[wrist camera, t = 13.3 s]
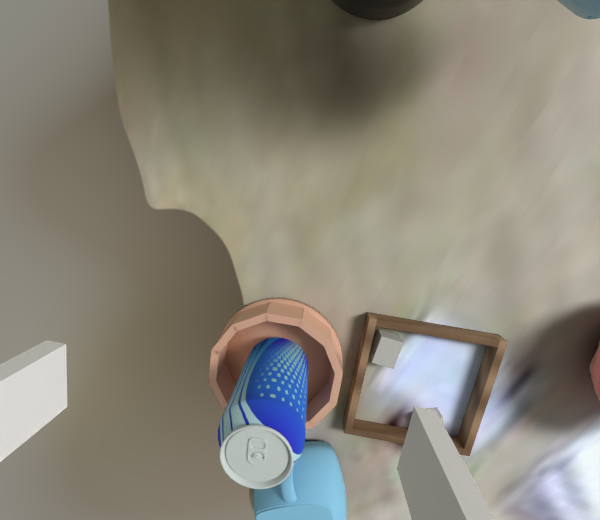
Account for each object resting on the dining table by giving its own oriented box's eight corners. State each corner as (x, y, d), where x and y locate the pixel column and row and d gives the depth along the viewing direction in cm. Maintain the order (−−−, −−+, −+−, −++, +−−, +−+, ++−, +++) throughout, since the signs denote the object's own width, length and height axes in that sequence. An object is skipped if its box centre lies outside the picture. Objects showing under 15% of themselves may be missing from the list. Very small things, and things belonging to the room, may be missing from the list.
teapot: (280, 521, 48) (268, 618, 37) (253, 429, 45) (231, 506, 34) (353, 512, 47) (364, 610, 36) (331, 417, 44) (335, 493, 32)
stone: (377, 328, 40) (381, 336, 38) (398, 334, 40) (403, 342, 38) (368, 353, 41) (371, 362, 39) (388, 359, 41) (393, 368, 39)
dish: (225, 287, 40) (212, 300, 35) (352, 309, 40) (357, 325, 35) (213, 399, 44) (200, 423, 39) (329, 420, 44) (331, 448, 39)
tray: (367, 312, 40) (369, 317, 38) (498, 334, 39) (508, 341, 37) (342, 422, 44) (344, 433, 42) (462, 444, 43) (469, 456, 41)
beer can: (321, 361, 41) (324, 463, 25) (279, 397, 42) (257, 513, 27) (278, 320, 40) (254, 399, 24) (237, 358, 41) (189, 455, 26)
